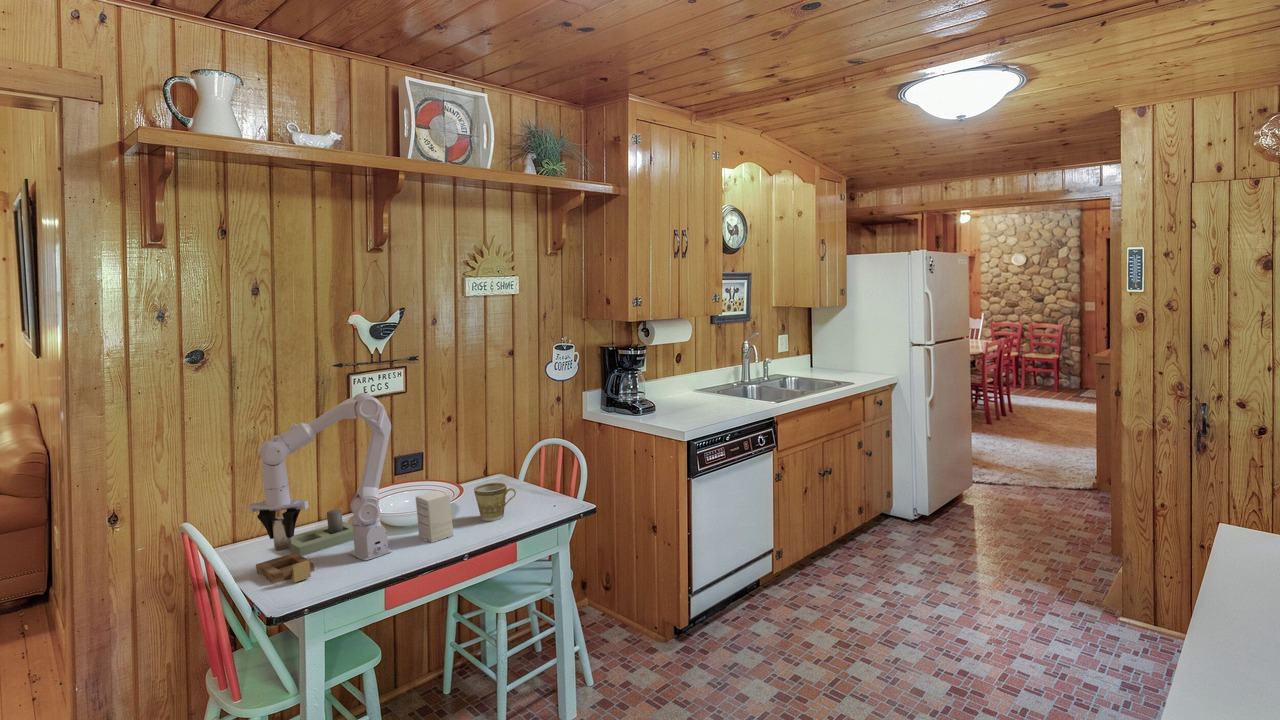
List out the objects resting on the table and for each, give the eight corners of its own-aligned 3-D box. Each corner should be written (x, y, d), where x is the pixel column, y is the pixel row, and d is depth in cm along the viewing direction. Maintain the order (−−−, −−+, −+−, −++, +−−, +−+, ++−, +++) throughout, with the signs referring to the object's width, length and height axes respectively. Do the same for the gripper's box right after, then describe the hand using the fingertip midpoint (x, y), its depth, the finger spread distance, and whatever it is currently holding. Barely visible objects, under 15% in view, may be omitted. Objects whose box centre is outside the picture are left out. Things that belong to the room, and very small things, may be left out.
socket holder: (314, 570, 185) (313, 562, 184) (274, 583, 177) (273, 575, 177) (295, 560, 193) (294, 552, 192) (256, 572, 185) (255, 564, 185)
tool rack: (362, 537, 209) (359, 510, 208) (300, 556, 195) (297, 528, 195) (343, 529, 217) (341, 503, 216) (282, 547, 203) (280, 520, 203)
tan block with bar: (310, 577, 179) (309, 561, 179) (294, 582, 176) (293, 567, 176) (297, 569, 185) (295, 554, 184) (281, 574, 182) (279, 559, 181)
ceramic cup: (471, 523, 216) (469, 491, 215) (482, 512, 226) (480, 482, 225) (512, 523, 214) (510, 491, 213) (521, 512, 224) (519, 481, 223)
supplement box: (441, 530, 211) (437, 489, 209) (454, 536, 205) (450, 494, 204) (418, 538, 205) (414, 495, 204) (430, 543, 200) (427, 500, 199)
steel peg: (294, 547, 184) (291, 517, 183) (278, 552, 181) (274, 522, 181) (288, 544, 187) (284, 515, 186) (272, 548, 184) (268, 519, 183)
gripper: (311, 480, 187) (316, 530, 188) (256, 483, 186) (261, 533, 188) (299, 488, 180) (304, 539, 181) (241, 491, 179) (247, 542, 181)
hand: (282, 537), depth 184 cm, fingers closed on steel peg, 4 cm apart
